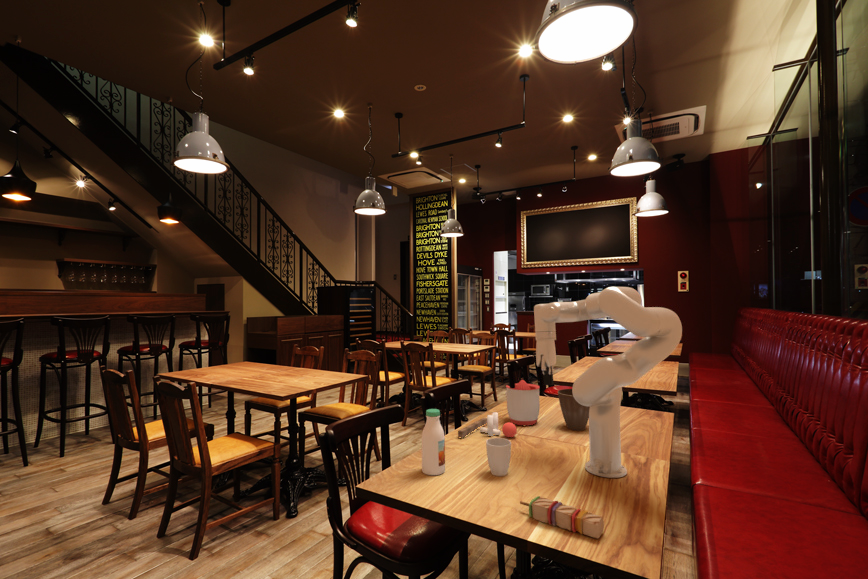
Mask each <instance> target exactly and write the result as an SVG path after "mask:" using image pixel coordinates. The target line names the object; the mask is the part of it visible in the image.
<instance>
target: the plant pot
mask: <svg viewBox="0 0 868 579" xmlns="http://www.w3.org/2000/svg"><path fill="white" fill-rule="evenodd" d="M557 394H558V395H557V396H558V401H559V405H560V409H561V414H562V416H563V419H564V422H565V424H566V427H567V429H568V430H570V429H571V431H575V430H576V432H577V431H579V432H580V431H581V432H582V431H584V430H586V427H587V425H588V423H589V409H590V406H583V405H581V404H579V403H578V402H577V401H576V400H575V398H574V397H573V393H572V388H564V389H563V388H562V389H559V390H557Z"/></svg>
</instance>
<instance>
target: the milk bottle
mask: <svg viewBox="0 0 868 579" xmlns="http://www.w3.org/2000/svg"><path fill="white" fill-rule="evenodd" d="M425 417H426V421H425V425H424V427H423V429H422V433H421V471H422V473H423V474H425V475H428V476H439V475H442V474H444V473H445V471H446V444H445V443H446V438H445V431H444V429H443V426H442V424H441V420H440V417H441V412H440V409H437V408H429V409H426V410H425Z"/></svg>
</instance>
